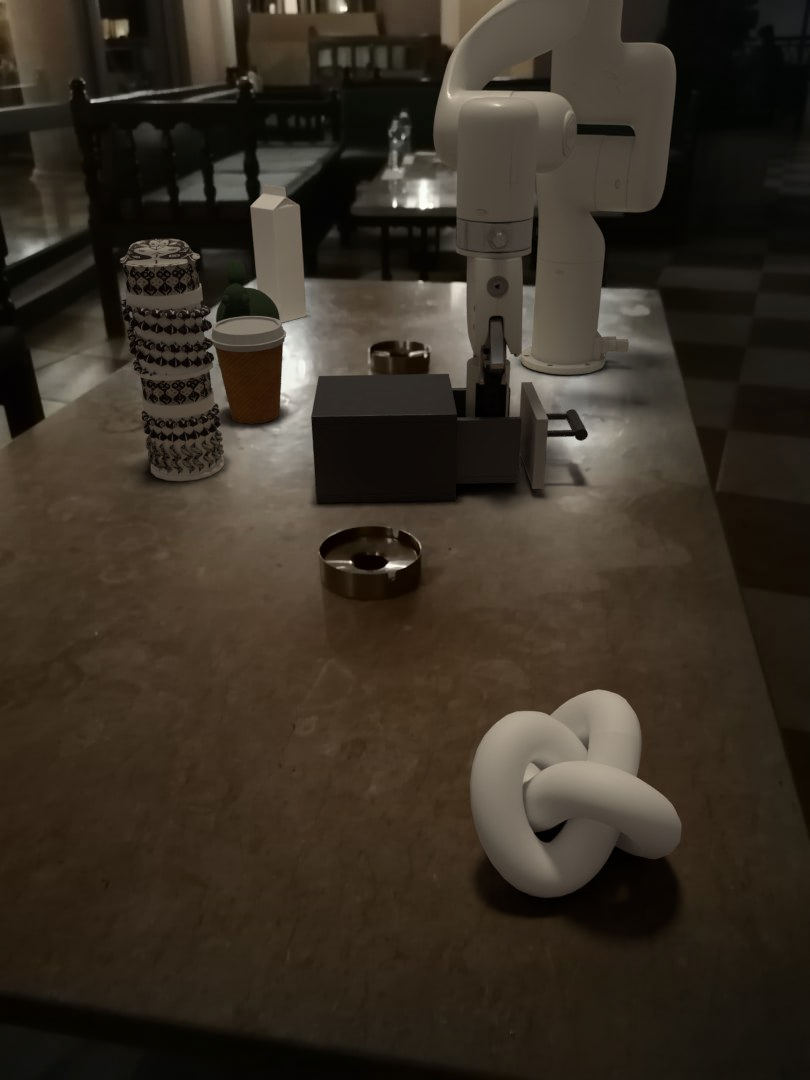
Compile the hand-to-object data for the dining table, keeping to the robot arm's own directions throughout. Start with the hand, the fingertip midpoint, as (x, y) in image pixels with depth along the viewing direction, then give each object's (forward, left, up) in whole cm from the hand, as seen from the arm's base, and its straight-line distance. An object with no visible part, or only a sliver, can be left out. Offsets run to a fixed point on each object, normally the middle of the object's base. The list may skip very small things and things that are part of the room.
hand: (487, 408), depth 98 cm
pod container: (0, 0, -1) cm, 1 cm away
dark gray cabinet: (+11, 0, -8) cm, 14 cm away
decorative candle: (+34, -4, -8) cm, 35 cm away
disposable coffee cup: (+28, -20, -8) cm, 36 cm away
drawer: (-1, 0, -7) cm, 7 cm away
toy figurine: (+31, -38, -8) cm, 50 cm away
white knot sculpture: (+1, +54, -8) cm, 55 cm away
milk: (+29, -69, -8) cm, 75 cm away
